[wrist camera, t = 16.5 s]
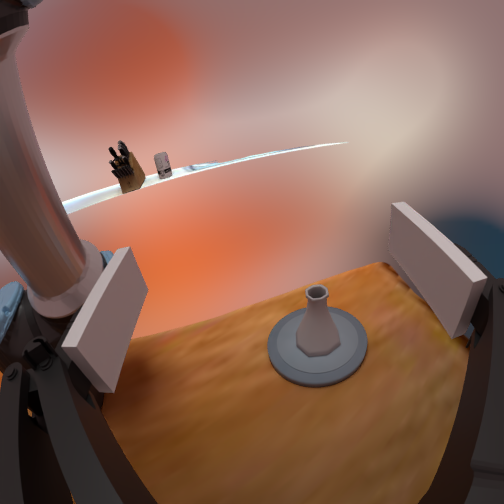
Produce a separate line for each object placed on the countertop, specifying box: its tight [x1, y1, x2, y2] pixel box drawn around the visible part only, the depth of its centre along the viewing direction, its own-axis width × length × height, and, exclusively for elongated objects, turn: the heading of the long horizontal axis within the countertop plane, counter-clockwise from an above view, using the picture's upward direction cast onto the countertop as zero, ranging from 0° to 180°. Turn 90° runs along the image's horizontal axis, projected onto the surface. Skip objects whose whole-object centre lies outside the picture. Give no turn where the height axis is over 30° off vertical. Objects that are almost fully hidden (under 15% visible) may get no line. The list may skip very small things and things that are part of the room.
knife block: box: [109, 141, 145, 193], centre depth 150 cm, size 11×35×31 cm, turn 12°
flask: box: [296, 284, 341, 357], centre depth 40 cm, size 7×7×10 cm
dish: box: [268, 307, 367, 387], centre depth 43 cm, size 16×16×2 cm
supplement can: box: [154, 152, 172, 179], centre depth 160 cm, size 8×8×15 cm
